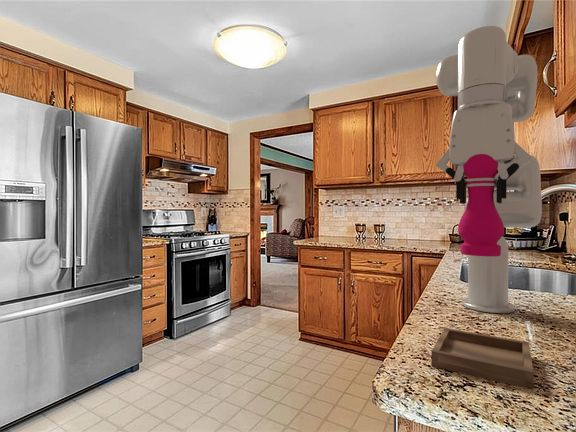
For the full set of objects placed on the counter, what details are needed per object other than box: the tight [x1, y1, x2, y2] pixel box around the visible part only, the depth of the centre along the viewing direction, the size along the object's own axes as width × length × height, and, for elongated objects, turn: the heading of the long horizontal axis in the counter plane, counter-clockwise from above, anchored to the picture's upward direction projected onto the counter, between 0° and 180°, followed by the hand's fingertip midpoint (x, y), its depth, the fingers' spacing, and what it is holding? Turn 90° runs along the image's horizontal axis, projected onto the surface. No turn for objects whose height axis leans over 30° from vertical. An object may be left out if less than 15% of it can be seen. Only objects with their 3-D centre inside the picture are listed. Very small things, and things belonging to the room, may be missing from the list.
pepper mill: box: [457, 154, 505, 257], centre depth 61 cm, size 7×7×20 cm
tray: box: [430, 327, 534, 390], centre depth 59 cm, size 14×14×2 cm
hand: (480, 202), depth 61 cm, fingers closed on pepper mill, 5 cm apart
